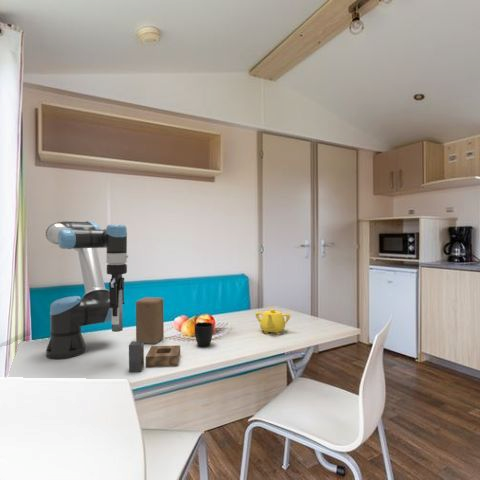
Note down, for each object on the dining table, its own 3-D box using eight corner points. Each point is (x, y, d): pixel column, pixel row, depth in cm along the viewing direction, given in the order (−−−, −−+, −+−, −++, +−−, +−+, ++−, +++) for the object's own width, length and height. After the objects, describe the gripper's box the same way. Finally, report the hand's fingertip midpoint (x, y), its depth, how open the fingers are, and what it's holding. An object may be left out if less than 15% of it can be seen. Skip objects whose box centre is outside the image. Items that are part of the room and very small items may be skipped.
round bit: (110, 331, 131) (110, 291, 131) (113, 328, 135) (113, 289, 135) (121, 331, 132) (120, 291, 131) (123, 328, 136) (123, 289, 135)
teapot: (252, 331, 176) (252, 308, 176) (274, 326, 183) (274, 305, 183) (269, 337, 164) (269, 313, 164) (291, 333, 172) (291, 310, 172)
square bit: (129, 372, 124) (128, 345, 124) (131, 367, 128) (131, 341, 128) (141, 371, 124) (141, 345, 124) (143, 367, 129) (143, 341, 129)
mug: (207, 339, 162) (207, 319, 162) (215, 346, 151) (215, 325, 151) (190, 341, 159) (190, 321, 159) (197, 349, 148) (197, 327, 148)
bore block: (145, 367, 129) (145, 356, 129) (151, 355, 141) (151, 346, 140) (177, 365, 130) (177, 355, 130) (180, 354, 142) (180, 345, 141)
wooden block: (155, 344, 154) (154, 301, 154) (135, 343, 156) (134, 300, 156) (164, 338, 164) (164, 297, 164) (145, 337, 166) (145, 296, 166)
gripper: (120, 266, 125) (121, 328, 125) (131, 261, 142) (131, 316, 142) (99, 266, 124) (100, 329, 125) (113, 261, 141) (113, 317, 142)
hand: (117, 322), depth 134 cm, fingers closed on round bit, 4 cm apart
